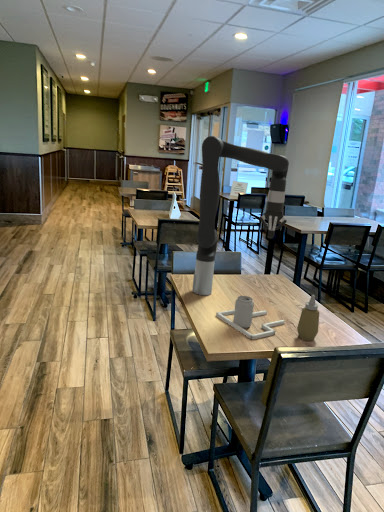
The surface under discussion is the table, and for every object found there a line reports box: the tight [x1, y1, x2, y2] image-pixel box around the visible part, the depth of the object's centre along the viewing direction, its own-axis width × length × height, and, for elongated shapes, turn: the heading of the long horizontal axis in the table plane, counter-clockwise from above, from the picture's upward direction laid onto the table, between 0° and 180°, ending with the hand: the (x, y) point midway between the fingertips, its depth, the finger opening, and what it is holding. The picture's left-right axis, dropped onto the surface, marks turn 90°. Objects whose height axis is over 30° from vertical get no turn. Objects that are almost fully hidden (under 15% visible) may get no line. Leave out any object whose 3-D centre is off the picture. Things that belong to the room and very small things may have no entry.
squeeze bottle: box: [296, 294, 320, 342], centre depth 151 cm, size 8×8×18 cm
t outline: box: [215, 308, 285, 340], centre depth 164 cm, size 23×24×2 cm
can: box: [232, 295, 255, 329], centre depth 159 cm, size 8×8×12 cm
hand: (270, 238), depth 180 cm, fingers closed
